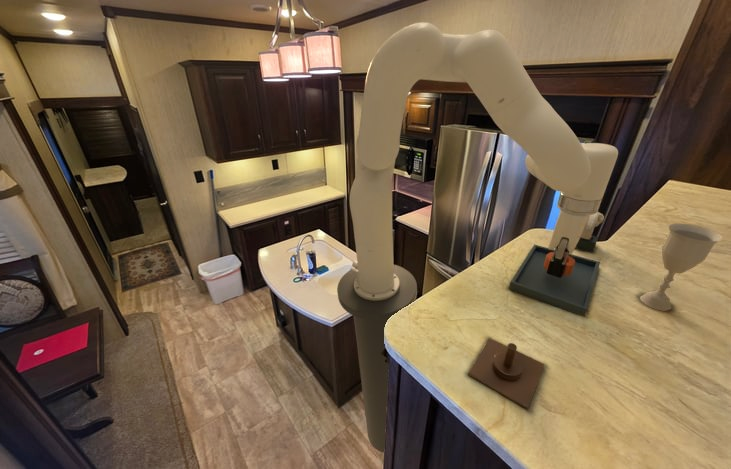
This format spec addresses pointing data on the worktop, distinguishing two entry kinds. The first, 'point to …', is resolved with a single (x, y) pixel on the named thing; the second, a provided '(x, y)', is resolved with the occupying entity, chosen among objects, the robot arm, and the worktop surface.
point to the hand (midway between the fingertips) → (557, 268)
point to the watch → (589, 233)
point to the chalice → (680, 258)
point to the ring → (569, 262)
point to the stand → (507, 371)
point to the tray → (556, 281)
